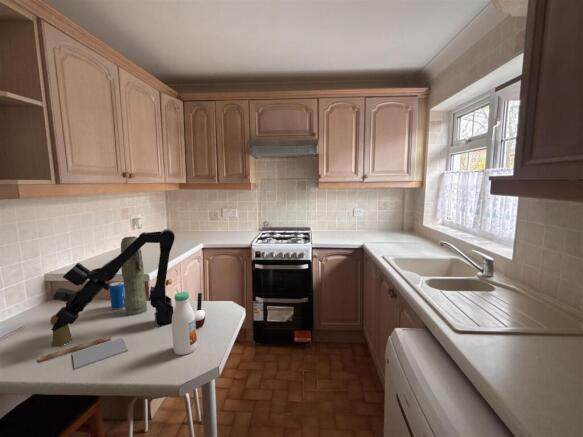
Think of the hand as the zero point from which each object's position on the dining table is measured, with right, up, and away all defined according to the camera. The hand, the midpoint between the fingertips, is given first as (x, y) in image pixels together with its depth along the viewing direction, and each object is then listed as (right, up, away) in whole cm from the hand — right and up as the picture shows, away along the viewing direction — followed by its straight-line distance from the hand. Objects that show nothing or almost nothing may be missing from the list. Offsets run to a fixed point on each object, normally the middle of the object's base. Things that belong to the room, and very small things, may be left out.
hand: (55, 326), depth 105 cm
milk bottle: (+51, -6, -6) cm, 51 cm away
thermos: (+15, -3, +27) cm, 31 cm away
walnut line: (+11, -7, -4) cm, 13 cm away
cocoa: (+49, -4, +11) cm, 51 cm away
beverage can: (+4, -3, +32) cm, 33 cm away
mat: (+21, -7, -6) cm, 23 cm away
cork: (+1, -7, +1) cm, 7 cm away
